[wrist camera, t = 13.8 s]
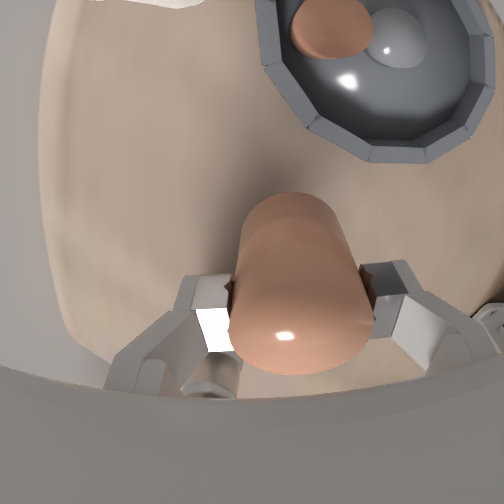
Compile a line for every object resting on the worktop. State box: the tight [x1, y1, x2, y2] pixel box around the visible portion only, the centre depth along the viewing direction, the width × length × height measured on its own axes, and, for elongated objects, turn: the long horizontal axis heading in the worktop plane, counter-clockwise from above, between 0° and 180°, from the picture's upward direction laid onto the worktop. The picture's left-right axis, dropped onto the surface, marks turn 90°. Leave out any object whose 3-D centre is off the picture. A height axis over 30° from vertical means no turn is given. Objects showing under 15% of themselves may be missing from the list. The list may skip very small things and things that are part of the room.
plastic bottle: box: [182, 350, 244, 399], centre depth 24 cm, size 6×7×20 cm
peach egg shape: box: [288, 0, 373, 60], centre depth 13 cm, size 4×4×5 cm
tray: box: [255, 0, 495, 164], centre depth 15 cm, size 18×18×3 cm
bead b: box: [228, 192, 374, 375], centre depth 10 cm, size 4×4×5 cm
